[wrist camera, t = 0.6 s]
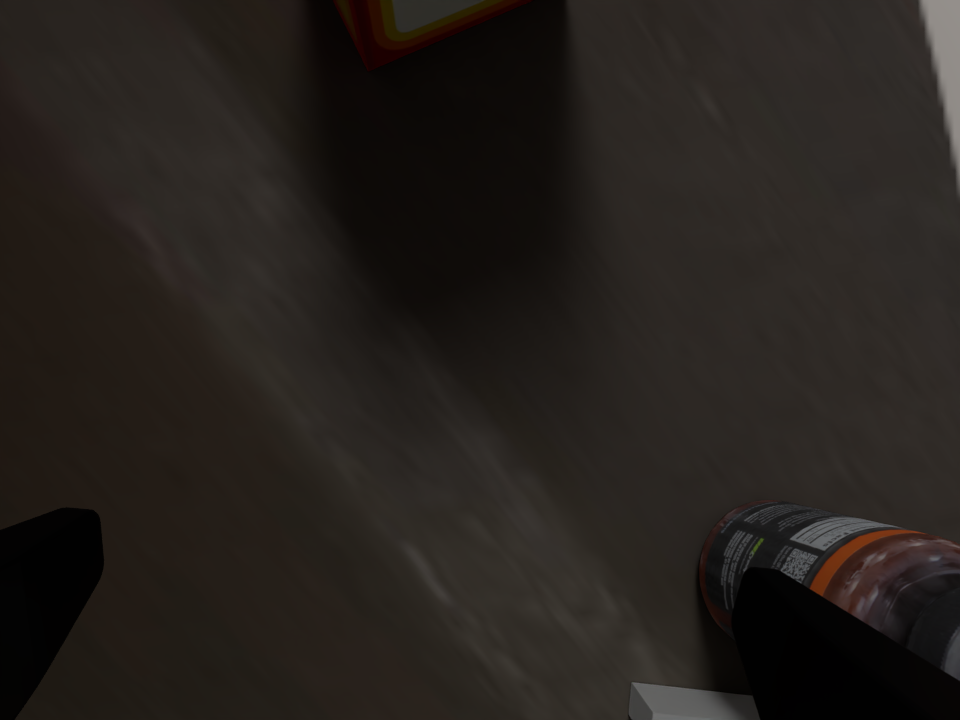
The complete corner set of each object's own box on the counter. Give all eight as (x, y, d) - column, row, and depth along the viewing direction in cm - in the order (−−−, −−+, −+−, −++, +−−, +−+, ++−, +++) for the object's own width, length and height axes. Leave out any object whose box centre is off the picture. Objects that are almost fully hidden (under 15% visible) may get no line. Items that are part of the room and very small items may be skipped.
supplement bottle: (835, 650, 25) (1164, 845, 13) (690, 644, 24) (902, 838, 13) (835, 500, 25) (1150, 565, 14) (694, 492, 25) (900, 554, 14)
